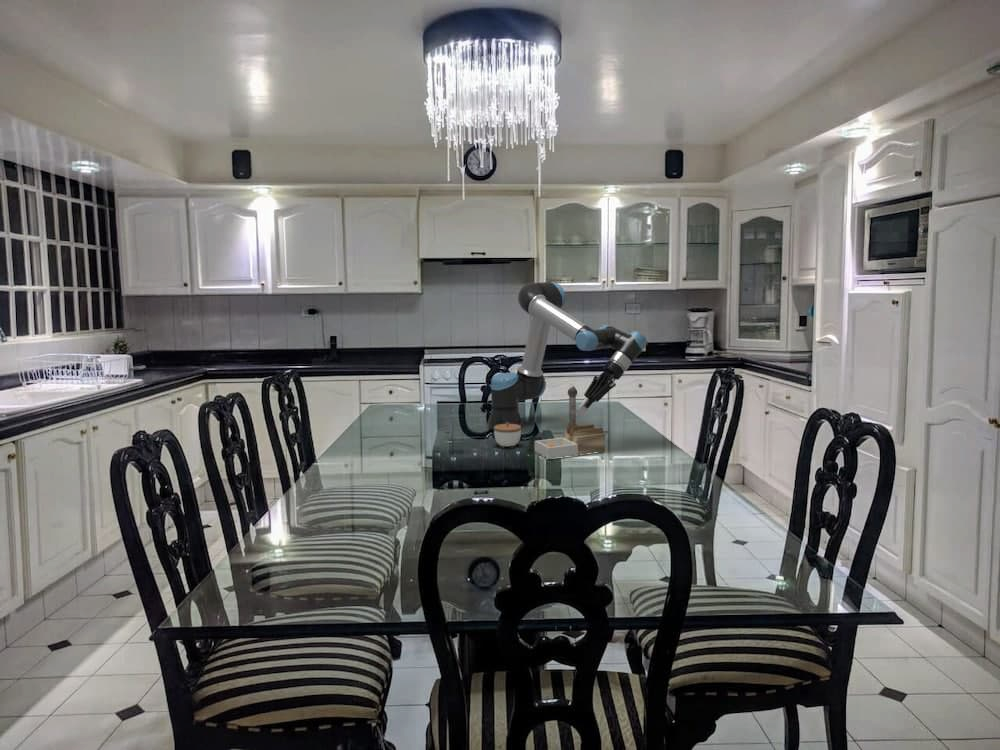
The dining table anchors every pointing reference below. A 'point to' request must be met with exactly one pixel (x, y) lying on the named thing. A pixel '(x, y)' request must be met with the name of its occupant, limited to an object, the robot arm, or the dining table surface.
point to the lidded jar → (507, 434)
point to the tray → (556, 448)
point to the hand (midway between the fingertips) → (578, 413)
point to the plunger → (572, 411)
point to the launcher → (587, 439)
